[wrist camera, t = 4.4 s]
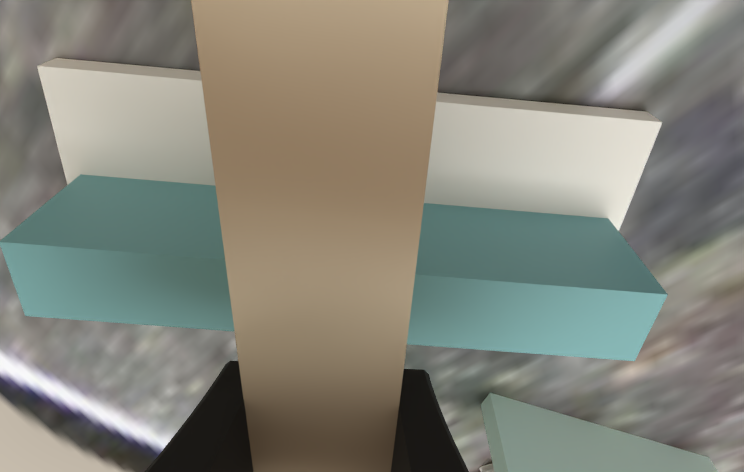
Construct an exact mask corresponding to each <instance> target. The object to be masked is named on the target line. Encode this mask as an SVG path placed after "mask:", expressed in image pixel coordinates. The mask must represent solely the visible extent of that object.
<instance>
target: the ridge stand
mask: <svg viewBox="0 0 744 472" xmlns="http://www.w3.org/2000/svg"><path fill="white" fill-rule="evenodd" d="M37 67H38V71H39V75H40V79H41V83H42V87H43V91H44V95H45V99H46V103H47V106H48V110H49V114H50V118H51V122H52V126H53V130H54V134H55V138H56V142H57V146H58V150H59V154H60V158H61V161H62V165H63V169H64V173H65V177H66V181H67V186H66V187H65V188H63V189H62V190H61V191H60V192H59V193H57V194H56V195H55V196H54V197H53V198H51V199H50V200H49V201H48V202H47V203H45V204H44V205H43V206H42V207H41V208H39V209H38V210H37V211H36V212H34V213H33V214H32V215H31V216H30V217H28V218H27V219H26V220H25V221H24V222H22V223H21V224H20V225H19V226H18V227H16V228H15V229H14V230H13V231H12V232H10V233H9V234H8V235H7V236H6V237H4V238H3V239H2V240H1V241H0V246H1V249H2V252H3V255H4V257H5V260H6V263H7V266H8V269H9V271H10V274H11V277H12V280H13V283H14V285H15V288H16V291H17V294H18V297H19V299H20V302H21V305H22V308H23V311H24V313H25V316H34V317H47V318H61V319H74V320H88V321H101V322H115V323H128V324H142V325H155V326H169V327H182V328H196V329H209V330H223V331H234V323H233V315H232V308H231V300H230V293H229V285H228V277H227V270H226V262H225V255H224V247H223V239H222V232H221V224H220V217H219V209H218V201H217V194H216V186H215V179H214V171H213V163H212V156H211V148H210V141H209V133H208V125H207V118H206V110H205V102H204V95H203V87H202V80H201V72H200V71H195V70H184V69H173V68H162V67H151V66H140V65H129V64H118V63H107V62H96V61H85V60H74V59H63V58H55V59H53V60H50V61H48V62H45V63H43V64H41V65H38V66H37ZM661 124H662V122H661V121H660V120H658V119H657V118H655V117H654V116H653V115H651V114H650V113H648V112H646V111H635V110H624V109H613V108H602V107H591V106H580V105H569V104H558V103H547V102H536V101H525V100H514V99H503V98H492V97H481V96H470V95H459V94H448V93H437V99H436V107H435V115H434V123H433V132H432V140H431V148H430V156H429V165H428V173H427V181H426V189H425V198H424V206H423V214H422V222H421V231H420V239H419V247H418V255H417V263H416V272H415V280H414V288H413V296H412V305H411V313H410V321H409V329H408V338H407V344H412V345H425V346H439V347H452V348H466V349H479V350H493V351H506V352H520V353H533V354H547V355H560V356H574V357H587V358H601V359H614V360H628V361H635V359H636V357H637V355H638V353H639V351H640V349H641V347H642V345H643V343H644V341H645V339H646V337H647V335H648V333H649V331H650V329H651V327H652V325H653V323H654V321H655V319H656V317H657V315H658V313H659V311H660V309H661V307H662V305H663V303H664V301H665V299H666V297H667V295H668V294H667V293H666V292H665V290H664V289H663V288H662V287H661V285H660V284H659V283H658V282H657V280H656V279H655V278H654V276H653V275H652V274H651V273H650V271H649V270H648V269H647V267H646V266H645V265H644V264H643V262H642V261H641V260H640V258H639V257H638V256H637V255H636V253H635V252H634V251H633V249H632V248H631V247H630V246H629V244H628V243H627V242H626V240H625V239H624V238H623V237H622V235H621V234H620V233H619V229H620V227H621V224H622V222H623V219H624V217H625V214H626V212H627V209H628V207H629V204H630V202H631V199H632V197H633V194H634V192H635V189H636V187H637V184H638V182H639V179H640V177H641V174H642V172H643V169H644V167H645V164H646V162H647V159H648V157H649V154H650V152H651V149H652V147H653V144H654V142H655V139H656V137H657V134H658V132H659V129H660V127H661Z"/></svg>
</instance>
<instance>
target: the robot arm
mask: <svg viewBox="0 0 744 472" xmlns="http://www.w3.org/2000/svg"><path fill="white" fill-rule="evenodd" d="M145 472H254V471H253V464H252V456H251V449H250V441H249V434H248V426H247V419H246V411H245V404H244V399H243V392H242V384H241V376H240V369H239V361H230V362H228V363H227V364H226V365H225V366H224V368H223V369H222V371H221V372H220V374H219V376H218V377H217V378H216V380H215V381H214V383H213V384H212V386H211V387H210V389H209V390H208V392H207V393H206V394H205V396H204V397H203V399H202V400H201V401H200V403H199V404H198V405H197V407H196V408H195V410H194V411H193V412H192V414H191V415H190V416H189V418H188V419H187V420H186V421H185V423H184V424H183V425H182V427H181V428H180V429H179V430H178V432H177V433H176V434H175V436H174V437H173V438H172V439H171V441H170V442H169V443H168V445H167V446H166V447H165V448H164V450H163V451H162V452H161V453H160V454H159V456H158V457H157V458H156V459H155V460H154V462H153V463H152V464H151V465H150V466H149V467H148V469H147V470H146V471H145ZM391 472H469V471H468V469H467V467H466V465H465V463H464V461H463V459H462V457H461V455H460V453H459V450H458V448H457V446H456V444H455V442H454V440H453V438H452V436H451V433H450V431H449V429H448V426H447V424H446V422H445V419H444V417H443V414H442V412H441V410H440V407H439V404H438V402H437V399H436V396H435V393H434V390H433V387H432V384H431V381H430V378H429V374H428V373H427V372H426V371H425V370H415V369H404V371H403V379H402V387H401V395H400V403H399V410H398V418H397V426H396V434H395V442H394V450H393V458H392V466H391Z"/></svg>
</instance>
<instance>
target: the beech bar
mask: <svg viewBox="0 0 744 472" xmlns="http://www.w3.org/2000/svg"><path fill="white" fill-rule="evenodd" d="M191 4H192V11H193V19H194V26H195V34H196V42H197V49H198V57H199V64H200V72H201V80H202V87H203V95H204V102H205V110H206V118H207V125H208V133H209V141H210V148H211V156H212V163H213V171H214V179H215V186H216V194H217V201H218V209H219V217H220V224H221V232H222V239H223V247H224V255H225V262H226V270H227V277H228V285H229V293H230V300H231V308H232V315H233V323H234V331H235V338H236V346H237V354H238V361H239V369H240V376H241V384H242V392H243V399H244V404H245V411H246V419H247V426H248V434H249V441H250V449H251V456H252V464H253V471H254V472H391V466H392V458H393V450H394V442H395V434H396V426H397V418H398V410H399V403H400V395H401V387H402V379H403V371H404V362H405V354H406V346H407V338H408V329H409V321H410V313H411V305H412V296H413V288H414V280H415V272H416V263H417V255H418V247H419V239H420V231H421V222H422V214H423V206H424V198H425V189H426V181H427V173H428V165H429V156H430V148H431V140H432V132H433V123H434V115H435V107H436V99H437V91H438V82H439V74H440V66H441V58H442V49H443V41H444V33H445V25H446V16H447V8H448V0H191Z"/></svg>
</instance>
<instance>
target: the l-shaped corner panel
mask: <svg viewBox="0 0 744 472" xmlns="http://www.w3.org/2000/svg"><path fill="white" fill-rule="evenodd" d="M481 409H482V414H483V419H484V424H485V429H486V434H487V438H488V443H489V448H490V453H491V458H492V463H491V464H488V465H484V466H481V467H480V468H479V469H480V472H718V471H717V470H716V468H715V466H714V465H713V463H712V462H711V460H710V458H709V457H706V456H703V455H699V454H696V453H692V452H689V451H686V450H682V449H679V448H676V447H672V446H669V445H665V444H662V443H659V442H655V441H652V440H649V439H645V438H642V437H638V436H635V435H632V434H628V433H625V432H622V431H618V430H615V429H611V428H608V427H605V426H601V425H598V424H595V423H591V422H588V421H584V420H581V419H578V418H574V417H571V416H568V415H564V414H561V413H557V412H554V411H551V410H547V409H544V408H540V407H537V406H534V405H530V404H527V403H524V402H520V401H517V400H513V399H510V398H507V397H503V396H500V395H497V394H493V393H489V394H488V396H487V397H486V398H485V400H484V401H483V402H482V404H481Z"/></svg>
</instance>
